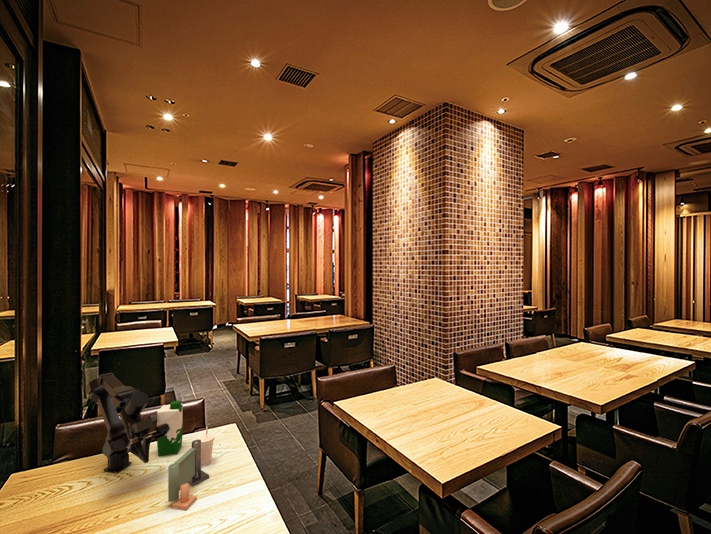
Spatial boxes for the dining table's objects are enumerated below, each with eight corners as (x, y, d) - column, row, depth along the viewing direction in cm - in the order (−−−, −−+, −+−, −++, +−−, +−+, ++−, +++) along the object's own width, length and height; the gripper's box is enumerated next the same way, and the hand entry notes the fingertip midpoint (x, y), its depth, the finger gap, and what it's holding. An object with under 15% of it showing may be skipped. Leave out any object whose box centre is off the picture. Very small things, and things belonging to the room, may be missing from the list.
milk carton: (179, 455, 139) (178, 405, 139) (154, 458, 137) (154, 408, 137) (184, 444, 148) (184, 397, 148) (161, 447, 145) (161, 399, 146)
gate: (189, 477, 121) (189, 447, 121) (197, 478, 121) (197, 448, 121) (166, 501, 109) (166, 468, 109) (175, 502, 108) (174, 468, 108)
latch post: (172, 508, 108) (172, 489, 108) (183, 498, 113) (183, 479, 113) (186, 510, 107) (186, 491, 107) (196, 499, 112) (196, 481, 112)
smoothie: (207, 468, 130) (207, 431, 130) (192, 466, 131) (192, 429, 131) (217, 459, 136) (217, 423, 136) (203, 457, 137) (203, 422, 137)
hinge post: (199, 472, 127) (199, 435, 127) (209, 478, 123) (208, 440, 124) (183, 480, 122) (183, 442, 122) (193, 486, 119) (192, 447, 119)
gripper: (109, 419, 112) (123, 464, 106) (167, 401, 127) (183, 439, 121) (99, 436, 117) (112, 480, 110) (157, 416, 132) (171, 454, 126)
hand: (147, 462), depth 117 cm, fingers closed
